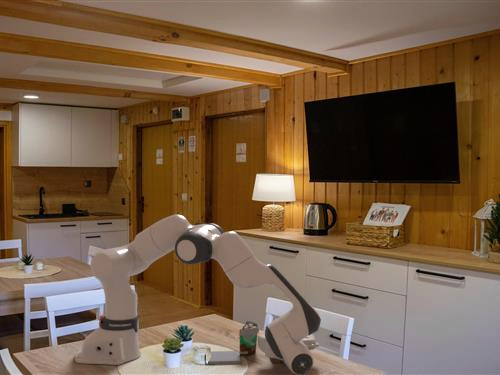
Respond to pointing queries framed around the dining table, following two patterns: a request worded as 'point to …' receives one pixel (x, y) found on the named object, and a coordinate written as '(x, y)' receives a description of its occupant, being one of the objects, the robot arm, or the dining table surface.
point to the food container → (248, 338)
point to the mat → (224, 357)
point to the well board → (276, 360)
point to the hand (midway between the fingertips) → (282, 334)
